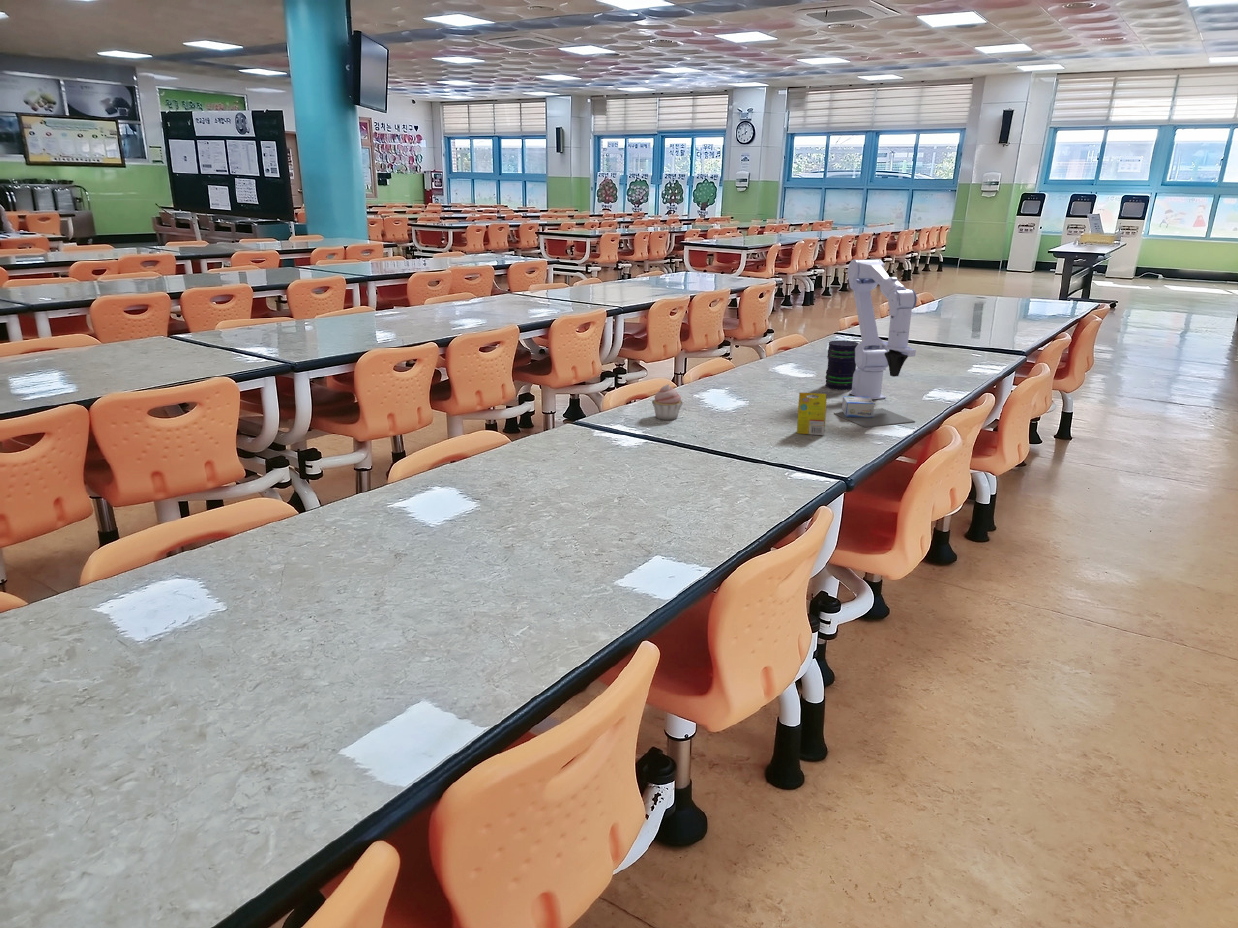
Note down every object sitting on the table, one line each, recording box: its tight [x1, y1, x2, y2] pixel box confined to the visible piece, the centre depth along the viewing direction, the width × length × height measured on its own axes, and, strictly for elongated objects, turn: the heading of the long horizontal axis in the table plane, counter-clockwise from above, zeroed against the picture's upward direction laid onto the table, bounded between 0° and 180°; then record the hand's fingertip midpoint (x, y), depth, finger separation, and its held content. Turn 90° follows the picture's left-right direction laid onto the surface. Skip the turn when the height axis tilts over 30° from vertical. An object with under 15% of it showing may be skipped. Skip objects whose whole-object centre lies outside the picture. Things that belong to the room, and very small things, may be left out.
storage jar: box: [824, 339, 860, 391], centre depth 278 cm, size 10×10×15 cm
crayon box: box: [796, 392, 827, 436], centre depth 226 cm, size 7×3×12 cm, turn 74°
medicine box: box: [841, 395, 875, 418], centre depth 245 cm, size 8×4×9 cm
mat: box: [833, 407, 916, 428], centre depth 243 cm, size 16×17×1 cm
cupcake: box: [651, 383, 684, 421], centre depth 242 cm, size 9×9×10 cm
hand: (894, 376), depth 251 cm, fingers closed
